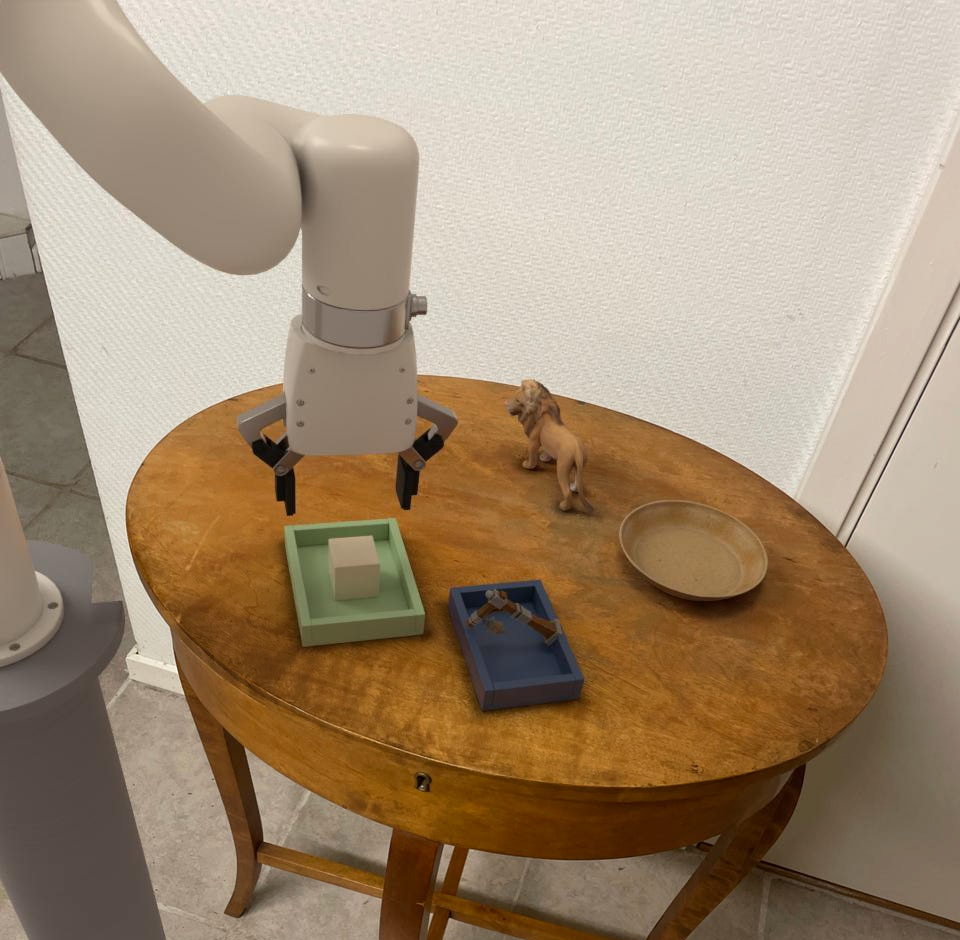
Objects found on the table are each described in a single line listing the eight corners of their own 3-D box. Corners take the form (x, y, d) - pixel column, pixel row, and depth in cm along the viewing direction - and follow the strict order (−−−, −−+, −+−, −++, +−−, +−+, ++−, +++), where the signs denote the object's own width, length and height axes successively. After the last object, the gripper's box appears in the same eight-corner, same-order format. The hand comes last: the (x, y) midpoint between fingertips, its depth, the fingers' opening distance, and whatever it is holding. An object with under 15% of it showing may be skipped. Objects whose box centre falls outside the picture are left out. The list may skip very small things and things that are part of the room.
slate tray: (481, 711, 78) (485, 691, 76) (447, 607, 87) (449, 587, 85) (579, 699, 80) (584, 679, 79) (536, 599, 89) (540, 579, 87)
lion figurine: (491, 450, 105) (501, 378, 99) (529, 439, 108) (541, 367, 102) (574, 523, 98) (590, 449, 91) (612, 509, 100) (631, 436, 94)
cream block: (334, 601, 85) (334, 567, 82) (328, 572, 87) (328, 538, 85) (379, 597, 86) (380, 563, 83) (371, 568, 88) (372, 535, 86)
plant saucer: (790, 594, 93) (799, 574, 91) (669, 632, 87) (676, 612, 86) (701, 508, 102) (708, 488, 100) (586, 537, 96) (591, 516, 94)
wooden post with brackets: (457, 611, 81) (491, 579, 79) (525, 648, 85) (560, 617, 83) (459, 626, 80) (494, 593, 77) (528, 662, 84) (563, 632, 82)
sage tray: (302, 647, 81) (301, 626, 79) (285, 546, 90) (284, 525, 88) (423, 634, 84) (425, 614, 82) (394, 537, 93) (395, 517, 91)
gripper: (458, 289, 73) (436, 473, 85) (227, 285, 68) (238, 481, 80) (483, 337, 68) (455, 525, 80) (235, 336, 63) (245, 536, 75)
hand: (346, 503), depth 80 cm, fingers open, 9 cm apart
